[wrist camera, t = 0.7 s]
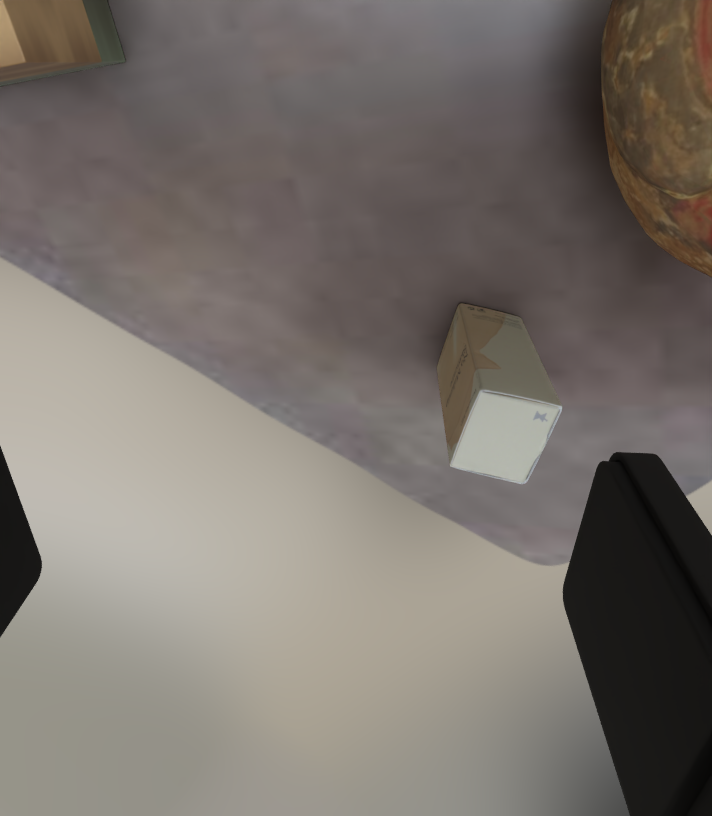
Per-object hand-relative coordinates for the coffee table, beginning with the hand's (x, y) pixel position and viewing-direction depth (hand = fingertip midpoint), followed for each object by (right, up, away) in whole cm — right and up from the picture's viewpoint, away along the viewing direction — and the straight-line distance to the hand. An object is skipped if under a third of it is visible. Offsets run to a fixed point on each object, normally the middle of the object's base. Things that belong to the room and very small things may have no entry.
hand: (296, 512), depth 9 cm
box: (+9, +6, +29) cm, 31 cm away
